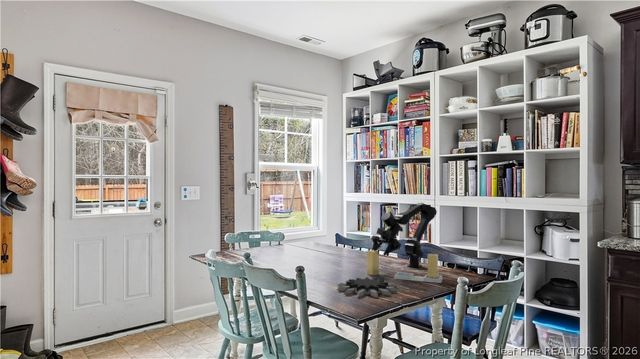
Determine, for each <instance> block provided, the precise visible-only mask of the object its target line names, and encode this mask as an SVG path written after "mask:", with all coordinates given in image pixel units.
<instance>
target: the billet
mask: <svg viewBox="0 0 640 359" xmlns="http://www.w3.org/2000/svg"><path fill="white" fill-rule="evenodd" d="M379 257H380V251H379V250H376V251H375V250H372V249H371V250H366V274H367V275H369V276H376V275H377V276H378V275H380V258H379Z"/></svg>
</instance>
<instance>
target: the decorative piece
mask: <svg viewBox="0 0 640 359" xmlns="http://www.w3.org/2000/svg"><path fill="white" fill-rule="evenodd" d="M336 286H337V287H338V288H336V291H338V292H343V295H344V296H351V295H354V294H355V295H356V296H357V297H358V298H362V297H364V296H370V297H372V298H374V299H377V298H378V296H379V295H381V296H384V297H391V296H393V293H394V294H395V293H398V292H400V290H399V289H397V288H396V287H398V285H397V284H394V283H390V282H389V281H387V280H385V279H378V278H377V277H375V278H372V279H370V278H369V277H367V276H366V277H365V278H360V277H356V279H349V278H348V280H345V281H344V282H340V283H337V285H336Z"/></svg>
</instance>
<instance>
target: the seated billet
mask: <svg viewBox="0 0 640 359" xmlns="http://www.w3.org/2000/svg"><path fill="white" fill-rule="evenodd" d="M427 275H428V278H436V279H438V275H439V254H437V253H427Z"/></svg>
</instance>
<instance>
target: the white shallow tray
mask: <svg viewBox="0 0 640 359" xmlns="http://www.w3.org/2000/svg"><path fill="white" fill-rule="evenodd" d="M393 279H395V280H396V279H397V280H405V281H406V280H407V281H418V282H428V283H436V284H437V283H440V284H441V283H442V281H443V275H439V274H438V279H436V278H428V273H427V274H425V275H424V276H420V275H419V276H417V275H414V273H413V272H401V271H397V272H396V273H395V274H394V278H393Z"/></svg>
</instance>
